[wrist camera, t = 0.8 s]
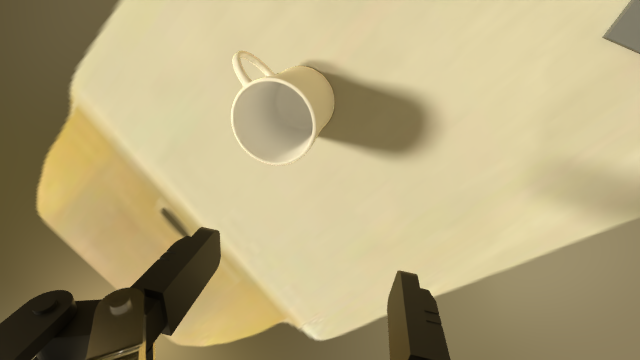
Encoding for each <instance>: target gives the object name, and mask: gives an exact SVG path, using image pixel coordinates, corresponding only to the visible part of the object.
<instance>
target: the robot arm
mask: <svg viewBox="0 0 640 360" xmlns="http://www.w3.org/2000/svg"><path fill="white" fill-rule="evenodd" d="M220 258H221V252H220V233H219V231H218V230H213V229H209V228H204V227H201V228H199V229H198V230H197V231H196V232H195V234H194V235H193V236H192V237H190V236H186V237H184V238H182V239H180V240H178V241H176V242H175V243H174V244H173V245H172V246H171V247H170V248H169V249H168V250H167V252H165V253H164V254H163V255H162V256H161V257H160V259H159V260H157V261H156V262H155V263H154V264H153V265H152V266H151V267H150V268H149V269H148V270H147V271H146V272H145V273H144V274H143V275H142V276H141V277H140V278H139V279H138V280H137V281H136V282H135V283H134V284H133V285H132V286H131V287H130V288H122V289H119V290H116V291H114V292H112V293H110V294H108V295H107V296H105V297H104V298H103V299H102V300H86V301H74V298H73V296H72V294H71V293H70V292H68V291H64V290H55V291H50V292H46V293H43V294H41V295H39V296H37V297H35V298H33V299H31V300H29V301H28V302H27V303H26V304H24V305H23V306H22V307H20V308H19V309H18V310H17V311H15V312H14V313H13V314H12V315H11V316H9V317H8V318H7V319H5V320H4V321H3V322H2V323H0V360H31V359H33V358H34V357H35V356H36V357H35V358H34V359H33V360H155V340H156V339H157V337H158V336H159V335H160V334H161V333H162V334H166V335H170V336H171V335H172V334H173V332H174V331H175V329H176V328H177V326H178V325H179V324H180V322H181V321H182V319H183V318H184V316H185V315H186V313H187V312H188V311H189V309H190V308H191V306H192V305H193V303H194V302H195V300H196V299H197V297H198V296H199V295H200V293H201V292H202V290H203V289H204V287H205V286H206V284H207V283H208V281H209V280H210V279H211V277H212V276H213V274H214V273H215V271H216V270H217V268H218V266H219V263H220ZM387 313H388V331H389V348H390V360H450V356H449V352H448V348H447V345H446V340H445V336H444V332H443V328H442V326H441V320H440V316H439V312H438V308H437V304H436V301H435V299H434V298H433V296H432V295H431V293H430V292H429V290H426V289H421V288H420V286H419V280H418V276H417V274H413V273H408V272H404V271H398V272H397V274H396V277H395V280H394V283H393V286H392V288H391V291H390V294H389V298H388V305H387Z"/></svg>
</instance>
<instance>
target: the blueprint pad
mask: <svg viewBox="0 0 640 360" xmlns="http://www.w3.org/2000/svg"><path fill="white" fill-rule="evenodd" d="M602 38H605V39H607V40H609V41H611V42H614V43H616V44H618V45H621V46H623V47H625V48H627V49H630V50H632V51H634V52H637V53H639V54H640V0H631V1H630V3H629V4H628V5H627V6H626V8H625V9H624V10H623V12H622V13H621V14H620V15H619V17H618V18H617V19H616V21H615V22H614V23H613V25H612V26H611V27H610V28H609V30H608V31H607V32H606V34H605V35H604V36H603V37H602Z"/></svg>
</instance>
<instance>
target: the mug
mask: <svg viewBox="0 0 640 360" xmlns="http://www.w3.org/2000/svg"><path fill="white" fill-rule="evenodd" d="M240 58H244V59H246V60H248V61H250V62H251V63H253V64H254V65H255V66H257V67H258V68H259V69H260V70H261V71H262V72H263V73H264V74H265V75H266V76H267V77H263V78H259V79H256V80H254V81H252V80H251V79H250V78H249V77H248V75H247V74H246V72H245V70H244V69H243V67H242V64H241V61H240ZM232 62H233V67H234V70H235V72H236V75H237V77H238V78H239V80H240V82H241V83H242V85H243V88H242V89H241V90H240V91H239V93H238V94H237V96H236V97H235V99H234V102H233V105H232V109H231V124H232V129H233V132H234V134H235V137H236V139H237V141H238V142H239V144H240V145H241V146H242V148H243V149H244V150H245V151H246V152H247V153H248V154H249V155H251V156H252V157H253V158H255V159H257V160H259V161H261V162H263V163H266V164H270V165H286V164H290V163H293V162H295V161H297V160H299V159H300V158H302V157H303V156H304V155H305V154H306V153H307V152H308V151H309V149H310V148H311V146H312V145H313V143H314V141H315V140H316V138H317V136H318V135H319V133H320V131H321V130H322V128H323V127H324V126H325V125H326V124H327V123H328V122H329V120H330V118H331V116H332V114H333V111H334V104H335V101H334V94H333V90H332V88H331V85H330V84H329V82H328V81H327V79H326V78H325V77H324V76H323V75H322V74H321V73H319V72H318V71H316V70H314V69H312V68H309V67H305V66H295V67H291V68H288V69H286V70H284V71H283V72H281V73H277V74H274V73H273V72H272V71H271V70H270V69H269V68H268V67H267V66H266V65H265V64H264V63H263V62H262V61H261V60H260V59H258V58H257V57H255V56H254V55H252V54H251V53H248V52H246V51H239V52H237V53H236V54H235V55H234V56H233V60H232Z"/></svg>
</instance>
